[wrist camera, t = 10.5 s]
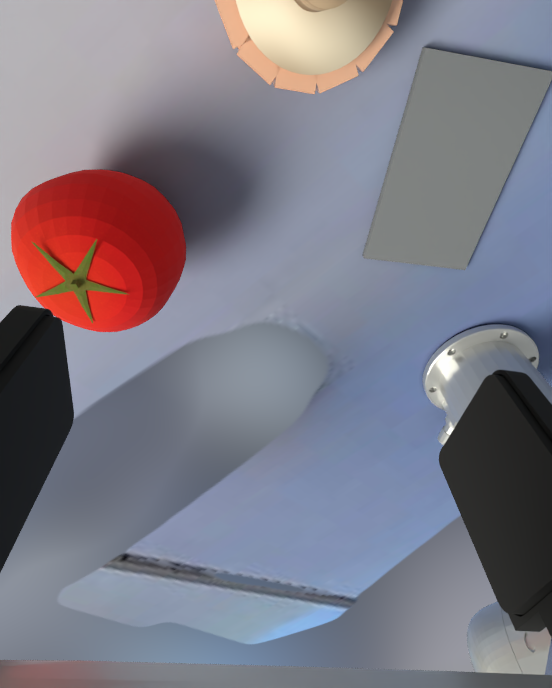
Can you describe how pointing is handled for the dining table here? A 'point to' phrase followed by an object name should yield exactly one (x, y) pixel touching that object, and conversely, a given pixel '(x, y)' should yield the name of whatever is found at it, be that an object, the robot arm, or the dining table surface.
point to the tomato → (98, 248)
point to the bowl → (290, 79)
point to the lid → (312, 31)
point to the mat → (452, 157)
